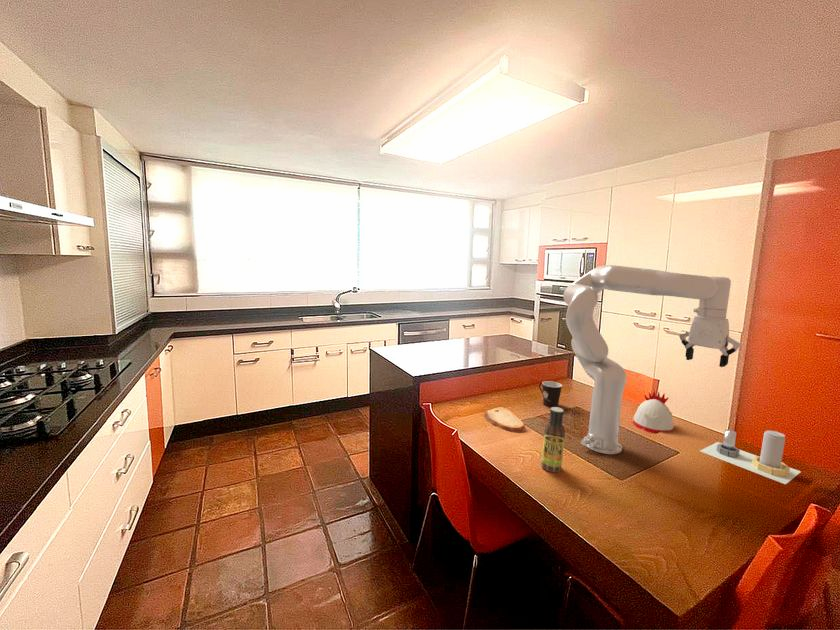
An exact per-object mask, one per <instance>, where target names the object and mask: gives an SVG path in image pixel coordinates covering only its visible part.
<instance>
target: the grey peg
mask: <svg viewBox="0 0 840 630" xmlns="http://www.w3.org/2000/svg"><path fill="white" fill-rule="evenodd" d="M736 438H737V431H734V429H733V430H732V429H724V435H723V441H722V444H723V448H724V449H727V450H730V451H734V447H736V446H735V445H736Z"/></svg>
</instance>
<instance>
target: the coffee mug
mask: <svg viewBox="0 0 840 630" xmlns="http://www.w3.org/2000/svg"><path fill="white" fill-rule="evenodd" d="M541 386H542V388H541ZM562 387H563V384H561V383H559V382H557V381H556V382H555V381H552V380H551V381H550V380H548V381H542V382H540V383H539V384H538V389H539V390H540V392H541V394H542V399H543V400H542V403H543V406H545V407H549V408H552V407H558V406H559V402H560V397H561V392H562Z"/></svg>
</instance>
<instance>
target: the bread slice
mask: <svg viewBox="0 0 840 630" xmlns="http://www.w3.org/2000/svg"><path fill="white" fill-rule="evenodd" d="M483 415H484V417H485V419H486V420H487V422H489V423H490V424H491V425H494V426H495V427H496V428H498V429H501V430H505V431H507V432H511V433H524V432H526V431H527V430H526V429H527V428H526V425H525V423H524V422H523V421H522V420H521V419H520V417H518V416H517V415H516V414H514V413H513V412H511V411H510V410H509V409H508V408H505V407H504V406H499V407H495V408H491V409H486V410H485V411H484V413H483Z"/></svg>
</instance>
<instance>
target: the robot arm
mask: <svg viewBox="0 0 840 630" xmlns="http://www.w3.org/2000/svg"><path fill="white" fill-rule="evenodd" d="M731 283H732V281H731V279H730V278H729V277H726V276H724V277H723V276H706V275H698V274H687V273H681V272H680V273H678V272H671V271H664V270H659V269H652V268H651V269H650V268H641V267H633V266H626V265H625V266H623V265H613V264H611V265H610V264H607V265H606V264H605V265H603V264H602V265H599V266H596V267H595V268H593V269H592V270H590V271H589V272H586V274H584V275H583V276H581V277H580V278H578V279H576V280H575V281H574V282H572V283H571V284H569V285H568V286H567V287H566V288H565V289H564V291H563V294H562V296H563V300H564V302H565V304H566V305H567V310H566V314H565V323H566V327H567V329H568V330H569V333H570V335H571V337H572V339H571V350H572V351H573V353H574V354H575V356H576V358H577V360H578V362H579V363H580V365H581V367H582V369H583V370H584V372H585V373H586V375H588V376H589V377H590V378H591V379H592V380H594V387H593V388H592V389H593V390H592V392H591V397H590V413H589V423H588V433H587V435H584V437H583V438H582V439H581V440H580V443H581V446H585V447H586V448H587V449H589V450H592V451H593V452H596V453H600V454H604V455H618V454H620V453H621V452H622V450H623V446H622V444H621V443H620V442H618V439H619V433H620V432H619V431H620V429H619V428H620V422H621V421H620V419H621V410H622V409H621V408H622V399H623V395H624V390H625V387H626V383H627V378H628V377H627V374H626V371H625V369H624V367H623V366H621V365H620V363H618V362H616V361H614V360H612V359H611V358H609V357H608V355H609V347H608V346H609V345H608V343H606V341H605V338H604V337H603V335H602V334H601V332H600V331H599V328H598V327H597V325H596V323H595V321H594V317H593V313H594V310H595V308H596V305H597V304H598V302H599V293H600V292H602V291H603V290H608V291H613V292H621V293H631V294H632V293H633V294H639V295H649V296H662V297H664V296H666V297H674V298H675V297H676V298H682V299H684V298H685V299H692V300H693V299H694V300H698V301H699V303H698V307H697V308H693V312H694V313H696V315H694V317H693V319H692V322H691V324H690V325H691V326H690V329H689V332H685V333H682V334H681V333H680V334H679V335H678V337H679V339H680V341H681V344H682V345H683V346H684V349H685V358H686V359H685V360H687V361H691V360H693V358H694V352H695V351H694V350H695V349H694V347H695V346H697V347H698V346H699V347H703V348H709V349H715V350H718V351H720V352H721V355H720V359H719V365H718V366H719V367H720V368H725V367H726V366H727V365H729V357H730V355H732V354H734V353H736V352H737V350H739V348H740V347H741V346H742V344H741V342H739V341H737V340H735V339H734V338H732V337H731V336H730V322H729V319H728V318H727V314H728V306H729V300H730V299H729V297H730V291H731ZM687 337H688V338H687ZM729 344H731V345H732V347H731V348H730V349H729V348H728V345H729Z"/></svg>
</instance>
